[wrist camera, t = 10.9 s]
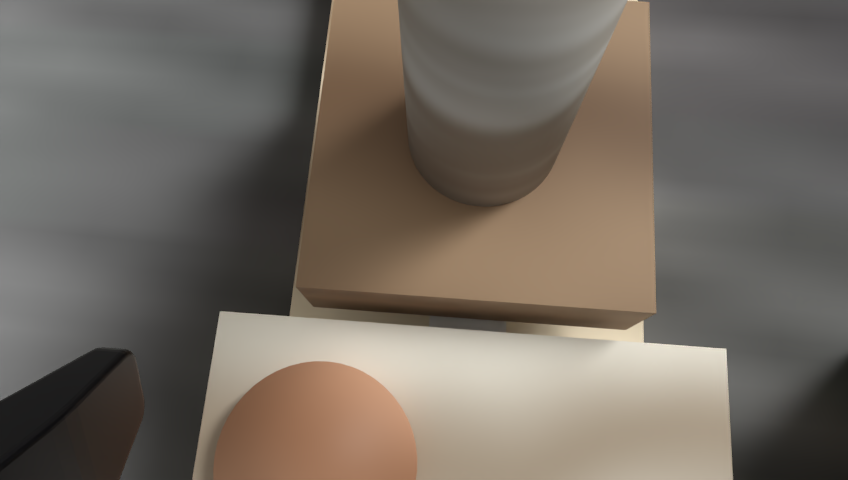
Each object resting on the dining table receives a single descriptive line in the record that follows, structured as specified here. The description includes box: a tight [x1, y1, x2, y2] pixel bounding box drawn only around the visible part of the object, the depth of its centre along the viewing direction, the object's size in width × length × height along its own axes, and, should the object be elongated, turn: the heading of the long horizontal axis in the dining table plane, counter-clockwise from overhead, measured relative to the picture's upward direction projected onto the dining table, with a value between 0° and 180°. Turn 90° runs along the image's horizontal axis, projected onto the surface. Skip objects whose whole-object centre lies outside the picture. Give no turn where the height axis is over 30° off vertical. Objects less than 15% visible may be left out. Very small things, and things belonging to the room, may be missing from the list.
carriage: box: [296, 0, 656, 330], centre depth 13 cm, size 8×8×10 cm
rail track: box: [192, 0, 733, 480], centre depth 19 cm, size 32×12×8 cm, turn 176°
